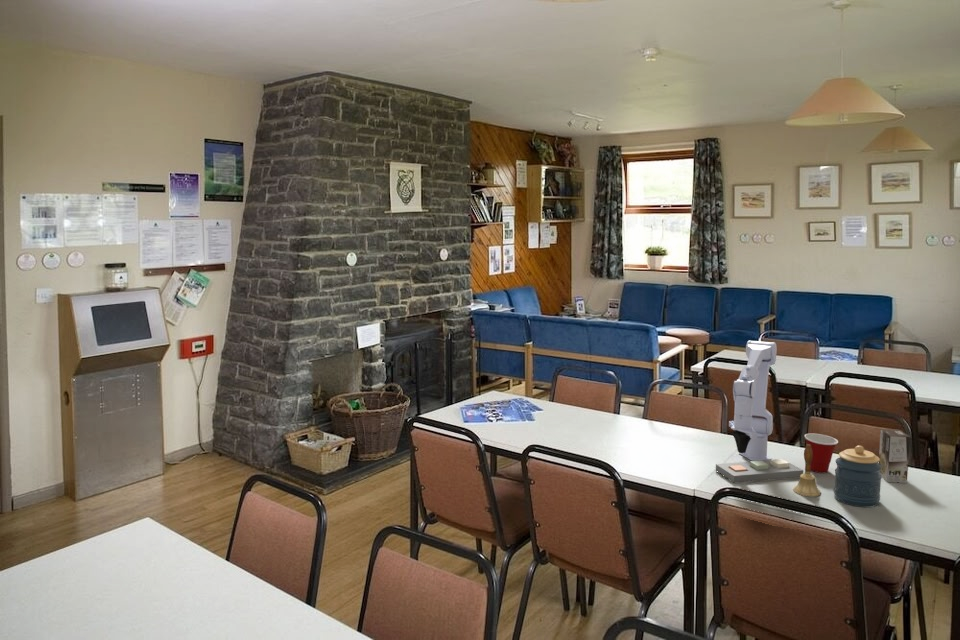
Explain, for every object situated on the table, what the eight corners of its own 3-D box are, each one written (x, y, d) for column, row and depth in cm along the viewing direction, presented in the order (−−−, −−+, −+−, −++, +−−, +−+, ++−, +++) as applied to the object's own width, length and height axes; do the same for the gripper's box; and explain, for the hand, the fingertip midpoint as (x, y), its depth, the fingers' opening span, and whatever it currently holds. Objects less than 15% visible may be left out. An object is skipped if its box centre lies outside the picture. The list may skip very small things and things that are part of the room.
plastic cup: (833, 477, 238) (835, 444, 236) (799, 471, 244) (801, 438, 243) (839, 468, 247) (841, 436, 245) (806, 463, 253) (808, 431, 252)
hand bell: (805, 498, 221) (807, 449, 219) (787, 488, 229) (789, 442, 227) (826, 495, 223) (829, 447, 221) (808, 486, 231) (810, 439, 229)
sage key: (749, 467, 244) (749, 461, 244) (761, 466, 245) (761, 460, 244) (756, 471, 240) (757, 465, 239) (768, 470, 240) (768, 464, 240)
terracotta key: (728, 471, 243) (728, 465, 242) (740, 470, 244) (740, 464, 243) (735, 476, 238) (735, 470, 238) (747, 475, 239) (747, 469, 239)
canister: (838, 488, 228) (841, 437, 226) (883, 498, 220) (887, 444, 218) (828, 501, 218) (832, 447, 216) (875, 511, 210) (879, 455, 208)
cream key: (770, 465, 245) (770, 459, 245) (781, 464, 246) (781, 458, 246) (777, 470, 241) (777, 463, 241) (789, 469, 242) (789, 463, 242)
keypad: (715, 470, 246) (715, 464, 246) (782, 465, 251) (782, 458, 250) (733, 483, 234) (734, 475, 234) (802, 477, 239) (803, 470, 239)
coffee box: (907, 483, 232) (911, 436, 230) (886, 482, 233) (890, 436, 231) (897, 474, 241) (900, 429, 239) (877, 472, 242) (880, 428, 240)
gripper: (721, 409, 245) (720, 446, 247) (743, 420, 231) (742, 460, 233) (739, 408, 246) (738, 445, 248) (763, 419, 232) (761, 458, 234)
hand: (741, 452), depth 240 cm, fingers closed
